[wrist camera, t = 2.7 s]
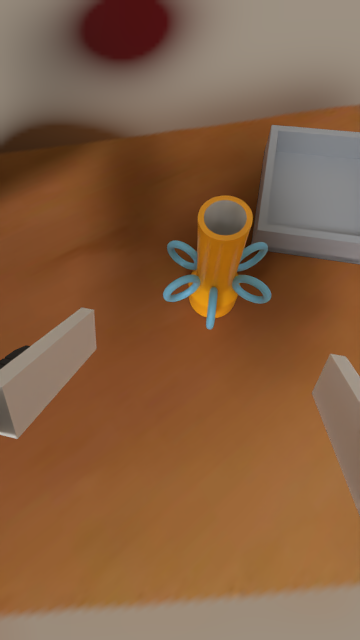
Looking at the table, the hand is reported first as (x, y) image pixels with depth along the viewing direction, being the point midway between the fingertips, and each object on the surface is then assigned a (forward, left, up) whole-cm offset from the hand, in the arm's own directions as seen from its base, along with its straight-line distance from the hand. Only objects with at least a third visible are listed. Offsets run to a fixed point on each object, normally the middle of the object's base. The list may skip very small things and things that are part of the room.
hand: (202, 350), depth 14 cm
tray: (+12, +27, -16) cm, 34 cm away
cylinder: (0, +10, -16) cm, 19 cm away
